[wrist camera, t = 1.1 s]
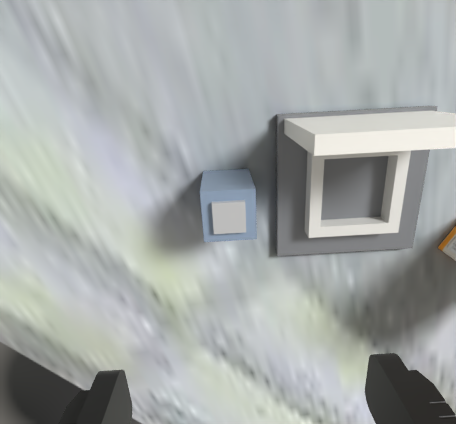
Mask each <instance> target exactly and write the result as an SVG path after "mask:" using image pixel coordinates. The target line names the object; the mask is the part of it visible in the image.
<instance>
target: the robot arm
mask: <svg viewBox="0 0 456 424" xmlns="http://www.w3.org/2000/svg"><path fill="white" fill-rule="evenodd" d="M365 395H366V400H367V404H368V407H369V410H370V412H371V414H372V416H373V418H374V421H375V423H376V424H456V416H455V413H454V412H453V411H452V409H451V408H450V406H449V405H448V404H446V402H445V399H444V398H443V397H442V395H441V394H440V392H439V391H438V390H437V388H436V387H435V386H434V384H433V383H432V382H430V381H429V380H428V379H427V378H426V377H424V376H423V375H422V374H421V373H419V372H418V371H417V370H410V371H408V369H407V368H406V366H405V365H404V363H403V362H402V360H401V359H400V358H399V356H398V355H397V354H395V353H390V354H374V355H370V357H369V363H368V370H367V378H366V385H365ZM131 419H132V401H131V397H130V393H129V388H128V384H127V379H126V375H125V372H124V370H112V371H100V372H98V374H97V375H96V377H95V380H94V382H93V384H92V387H91V389H90V390H85V391H80V392H79V393H78V394H77V396H76V397H75V398H74V399H73V400H72V401H71V402H70V403H69V405H68V406H67V407H66V409H65V411H64V413H63V416H62V418H61V420H60V422H59V424H131Z"/></svg>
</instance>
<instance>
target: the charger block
mask: <svg viewBox="0 0 456 424" xmlns="http://www.w3.org/2000/svg"><path fill="white" fill-rule="evenodd" d="M200 200H201V212H202V224H203V235H204V242H215V241H232V240H249V239H257V230H256V188H255V186H254V183H253V180H252V177H251V175H250V172H249V169H233V170H216V171H203V176H202V182H201V188H200Z"/></svg>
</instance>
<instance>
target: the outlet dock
mask: <svg viewBox="0 0 456 424" xmlns="http://www.w3.org/2000/svg"><path fill="white" fill-rule="evenodd" d="M446 148H456V114H455V113H447V112H438V111H437V106H418V107H400V108H382V109H364V110H346V111H328V112H310V113H292V114H277V170H276V253H277V256H287V255H304V254H320V253H337V252H354V251H371V250H388V249H405V248H412V247H413V242H414V236H415V230H416V225H417V219H418V213H419V208H420V202H421V197H422V191H423V185H424V180H425V174H426V168H427V163H428V157H429V151H430V149H446Z"/></svg>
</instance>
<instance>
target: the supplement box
mask: <svg viewBox="0 0 456 424" xmlns="http://www.w3.org/2000/svg"><path fill="white" fill-rule="evenodd" d="M438 248H439V249H440V250H441V251H443V252H444V253H445V254H447V255H448V256H450V257H451V258H452V259H454V260H455V261H456V226H455V227H454V228H453V229H452V231H451V232H450V233H449V234H448V235H447V236H446V238H445V239H444V240H443V242H442V243H441V244H440V245H439V246H438Z"/></svg>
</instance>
